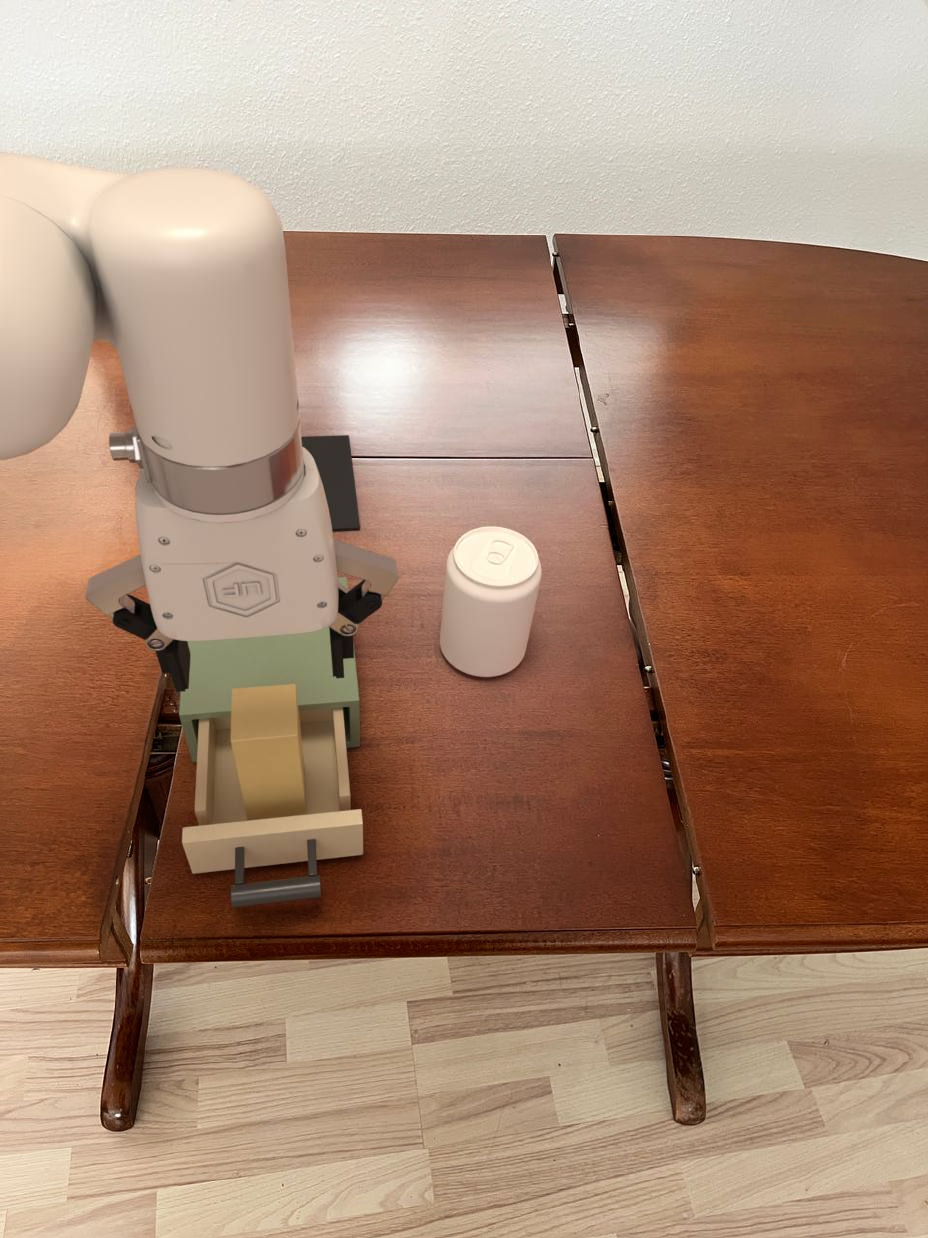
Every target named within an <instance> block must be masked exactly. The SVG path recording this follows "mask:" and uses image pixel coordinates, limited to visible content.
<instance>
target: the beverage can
mask: <svg viewBox="0 0 928 1238" xmlns="http://www.w3.org/2000/svg"><path fill="white" fill-rule="evenodd" d="M542 568H543V567H542V563H541V561H540V558H539V554H538V551H537V549H536V547H535V545H534V544H533V542H531V540H530V539H528V538H527V536H525V535H523V534H521V533H520V532H518V531H516V530H513V529H510V528H508V527H507V528H506V527H503V526H492V525H491V526H481V527H477V528H474V529H471V530H469V531H467V532H465V533H464V534H462V535H461V536H460V537H459V539H458V540H457V541H456V543H455V545H454V546H453V547H452V549H451V550H450V551H449V554H448V556H447V559H446V566H445V576H444V586H443V597H442V598H443V599H442V610H441V619H440V631H439V632H440V633H439V647H440V650H441V653H442V654H443V656H444V658H445V659H446V660H447V661H448V663H449V664H450V665H451V666H453V667H454V668H455V669H457V670H459V671H460V672H462V673H465V674H467V675H471V676H473V677H480V678H492V677H493V678H494V677H499V676H502V675H505V674H507V673H509V672H511V671H513V670H514V669H515V668H517V667H518V666H519V665H520V663H521V662H522V661H523V659H524V657H525V655H526V650H527V646H528V644H529V643H528V642H529V637H530V633H531V628H532V623H533V618H534V614H535V609H536V604H537V599H538V595H539V589H540V586H541V581H542V575H543V571H542Z"/></svg>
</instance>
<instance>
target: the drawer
mask: <svg viewBox="0 0 928 1238" xmlns="http://www.w3.org/2000/svg"><path fill="white" fill-rule="evenodd" d="M299 718H300V728H301V737H302V747H303V757H304V768H305V789H306V810H307V813H306V814H298V815H288V816H279V817H269V818H259V819H250V820H248V819H247V815H246V810H245V806H244V801H243V796H242V792H241V787H240V782H239V778H238V773H237V768H236V764H235V759H234V754H233V750H232V745H231V716H230V717H218V718H206V719H199V729H198V750H197V762H196V770H195V771H196V773H195V794H194V815H195V817H196V820H197V824H198V825H193V826H184V827H182V833H181V844H182V847H183V850H184V852H185V853H184V854H185V856H186V859H187V861H188V864H189V866H190V867H189V868H190V870H191V873H192V875H194V874H203V873H212V872H220V871H231V870H234V884H232V885H231V886H230V904H231V905H230V906H231V909H237V908H245V907H246V908H247V907H254V906H262V905H263V906H264V905H271V904H279V903H287V902H295V901H296V902H297V901H304V900H312V899H321V898H322V897H323V896H322V893H323V892H322V880H321V879H322V878H321V877H322V876H321V874H318V860H327V859H337V858H345V857H355V856H363V855H364V822H363V810H362V809H361V808H359V809H352V806H351V805H352V804H351V802H352V801H351V787H350V776H349V763H348V762H349V761H348V753H347V752H348V751H347V748H346V738H345V727H344V715H343V707H339V708H327V709H315V710H303V711H299ZM298 862H299V863H303V862H307V869H308V870H307V871H308V875H307V876H299V877H291V878H282V879H274V880H265V881H255V882H248V883H245V869H247V868H256V867H265V866H274V865H282V864H283V865H284V864H293V863H298Z"/></svg>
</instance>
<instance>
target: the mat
mask: <svg viewBox="0 0 928 1238" xmlns="http://www.w3.org/2000/svg"><path fill="white" fill-rule="evenodd" d="M301 438H302V447H304V448H305V449H306V450H307V451H308V452H309V453H310V454H311V455H312V457H313V458H314V461H315V463H316V466H317V469H318V471H319V474H320V478H321V481H322V484H323V488H324V492H325V496H326V500H327V504H328V508H329V514H330V519H331V525H332V532H348V531H349V532H350V531H360V530H361V523H360V515H359V506H358V498H357V491H356V482H355V475H354V464H353V457H352V449H351V441H350V435H349V434H345V435H340V434H339V435H312V436H311V435H310V436H309V435H308V436H305V435H304V436H301Z"/></svg>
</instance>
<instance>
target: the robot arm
mask: <svg viewBox="0 0 928 1238" xmlns="http://www.w3.org/2000/svg"><path fill="white" fill-rule="evenodd" d="M285 243H286V242H285V236H284V228H283V224H282V221H281V217H280V216H279V214H278V211H277V210H276V208H275V205H274V204H273V202H272V200H271V199H270V198H269V197H268V196H267V194H265V192H264V191H262V189H260V188H259V187H257V186H256V185H255V184H252V183H251V182H250V181H248V180H247V179H245V178H243V177H240V176H238V175H235V174H232V173H229V172H224V171H220V170H215V169H207V168H202V167H201V168H200V167H169V168H161V169H153V170H148V171H141V172H138V173H129V172H119V171H112V170H107V169H102V168H101V169H100V168H94V167H89V166H82V165H76V164H73V163H69V162H68V163H67V162H62V161H59V160H52V159H47V158H44V157H39V156H32V155H27V154H20V153H13V152H12V153H11V152H6V151H5V152H4V151H0V461H5V460H11V459H14V458H19V457H22V456H25V455H29V454H31V453H33V452H35V451H37V450H39V449H40V448H43V447H44V446H46V445H48V444H49V443H51V441H53V440H54V439H55V438H56V437H57V436H58V435H59V434H60V433H62V431H63V430H64V429H65V428H67V425H68V424H69V422H70V421H71V420H72V417H73V416H74V414H75V412H76V411H77V409H78V406H79V403H80V400H81V397H82V394H83V389H84V386H85V382H86V378H87V374H88V370H89V365H90V359H91V353H92V348H93V343H94V342H98V341H103V342H106V343H109V344H110V345H111V346H112V347H114V349H115V351H116V353H117V356H118V360H119V363H120V367H121V372H122V375H123V378H124V383H125V387H126V390H127V394H128V398H129V403H130V406H131V411H132V414H133V417H134V422H133V428H132V429H131V428H130V429H125V432H124V431H123V432H122V431H121V432H110V433H109V435H108V440H109V441H108V444H109V445H108V446H109V452H110V455H111V458H112V461H115V462H117V461H128V462H129V463H130V464H137V465H138V467H139V468H140V470H139V472H138V473H139V474H138V478H137V480H136V483H135V488H134V489H135V491H134V493H135V494H134V505H135V506H134V510H135V524H136V532H137V541H138V548H139V554H137V555H136V556H134V557H131V558H129V559H128V560H124V561H123V562H120V563H118V564H117V565H115V566H112V567H110V568H107V569H106V570H104V571H102V572H100V573H98V574H95V575H92V576H91V577H90V578H89V579H88V581H87V587H86V592H85V599H86V600H87V601H88V602H89V603H90V604H91V605H93V606H94V607H95V608H96V609H97V610H99V611H100V612H101V613H102V614H104V615H105V616H109V617H110V618H111V619H112V624H113V625H114V626H115V627H116V628H118V629H121V630H122V631H125V632H126V633H129V634H131V635H134V636H136V637H138V638H140V639H143V640H145V641H144V645H145V647H146V648H147V649H148V650H150V651H154V652H155V654H156V657H157V661H158V664H159V667H160V670H161V673H162V674H170V676H171V679H172V683H173V686H174V689H175V692H176V693H180V692H183V691H185V690H186V689H188V688H189V674H190V657H191V656H190V650H189V646H188V642H187V641H205V640H221V639H236V638H250V637H263V636H275V635H286V634H297V633H306V632H313V631H317V630H320V629H323V628H326V627H328V626H329V631H330V645H331V658H332V670H333V677H335V676H336V679H337V678H344V664H343V659H349V658H354V651H355V645H354V646H353V642H354V635H356V634H357V633H358V631H359V624H361V623H362V622H364V621H365V620H366V619H368V618H369V617H370V616H371V615H373V614H374V613H376V612H377V611H378V610H380V609H381V608H382V606H383V600H384V598H385V597H387V596H388V595H389V594H390V592H391V591H392V589H393V588H394V586H395V585H396V584H397V583H398V581H399V579H400V575H399V569H398V563H397V560H396V559H395V558H393V557H391V556H387V555H384V554H380V553H377V552H374V551H370V550H368V549H364V548H362V547H358V546H355V545H352V544H348V543H345V542H342V541H338V540H335V539H334V533H333V532H334V531H332V525H331V519H330V514H329V508H328V504H327V500H326V496H325V492H324V488H323V484H322V481H321V478H320V474H319V471H318V469H317V466H316V463H315V461H314V458H313V457H312V455H311V454H310V453H309V452H308V451H307V450H306V449H305V448H304V447H302V438H301V437H302V429H301V416H300V405H299V395H298V394H299V393H298V391H299V390H298V381H297V370H296V359H295V357H296V356H295V346H294V336H293V323H292V313H291V312H292V311H291V310H292V309H291V299H290V289H289V277H288V262H287V251H286V244H285ZM338 573H339V574H343V575H347V576H350V577H354V578H357V579H360V580H361V581H360V582H359V583H358V584H355V586H354V587H352V588H350V589H349V588H348V589H347V588H346V587H344V586H343V585H342V584H340V583H339V582H338V576H339V575H338ZM145 587H146V590H147V596H148V602H149V603H148V602H146V601H144V600H143V599H140V598H138V597H136V596H134V595H131V593H134V592H136V591H138V590H140V589H142V588H145Z"/></svg>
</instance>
